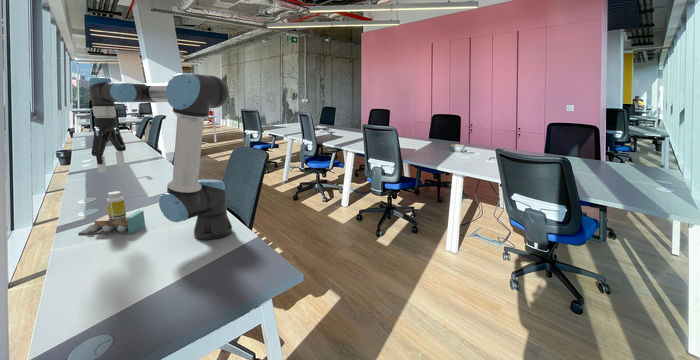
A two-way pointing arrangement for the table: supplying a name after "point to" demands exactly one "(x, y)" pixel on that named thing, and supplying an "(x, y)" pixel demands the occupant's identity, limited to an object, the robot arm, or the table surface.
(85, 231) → the roller bed
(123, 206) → the pill bottle
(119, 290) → the table surface
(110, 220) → the slab
